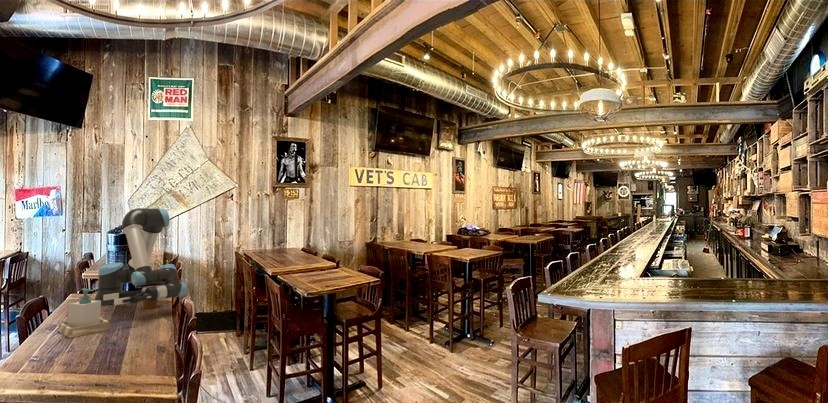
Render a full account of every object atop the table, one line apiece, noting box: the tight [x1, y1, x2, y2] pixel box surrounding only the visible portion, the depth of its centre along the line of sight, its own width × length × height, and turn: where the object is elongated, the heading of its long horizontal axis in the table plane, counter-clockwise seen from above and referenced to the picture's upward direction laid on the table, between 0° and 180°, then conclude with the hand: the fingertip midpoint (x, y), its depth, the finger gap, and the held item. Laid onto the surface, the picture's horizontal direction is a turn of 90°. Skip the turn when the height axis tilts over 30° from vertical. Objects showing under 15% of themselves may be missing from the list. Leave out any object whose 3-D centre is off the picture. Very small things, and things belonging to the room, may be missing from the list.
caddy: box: [57, 317, 110, 339], centre depth 188 cm, size 15×15×4 cm
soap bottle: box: [67, 288, 102, 328], centre depth 188 cm, size 9×9×19 cm
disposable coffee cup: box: [140, 285, 159, 310], centre depth 231 cm, size 10×10×12 cm
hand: (108, 300), depth 196 cm, fingers open, 13 cm apart
